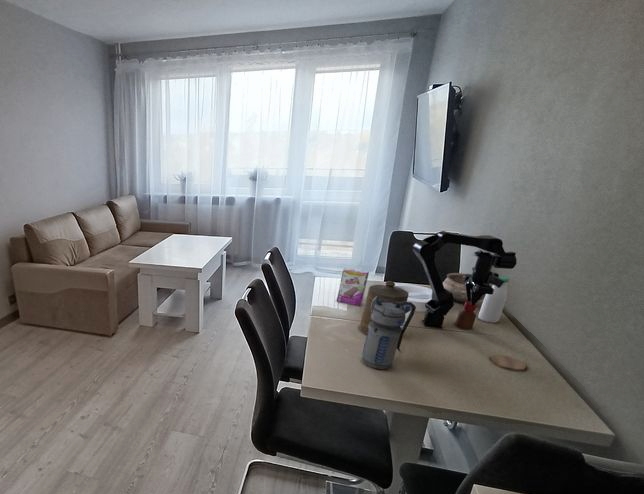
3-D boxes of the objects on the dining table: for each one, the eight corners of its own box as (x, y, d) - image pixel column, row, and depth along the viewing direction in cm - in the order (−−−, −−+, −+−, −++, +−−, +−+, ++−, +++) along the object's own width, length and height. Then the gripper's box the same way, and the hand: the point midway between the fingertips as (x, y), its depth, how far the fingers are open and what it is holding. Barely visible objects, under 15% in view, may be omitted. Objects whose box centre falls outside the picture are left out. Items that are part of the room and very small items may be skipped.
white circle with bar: (440, 298, 211) (443, 289, 209) (441, 316, 189) (444, 306, 187) (381, 288, 224) (383, 279, 222) (375, 303, 202) (377, 294, 200)
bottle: (457, 328, 177) (464, 305, 173) (453, 322, 183) (460, 300, 178) (474, 330, 175) (482, 307, 171) (469, 324, 181) (477, 302, 177)
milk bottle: (501, 324, 183) (517, 281, 174) (482, 322, 184) (497, 279, 176) (493, 317, 189) (508, 275, 181) (474, 315, 191) (488, 274, 183)
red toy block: (464, 310, 175) (467, 304, 173) (462, 307, 178) (464, 300, 177) (475, 312, 173) (478, 305, 172) (472, 308, 177) (475, 302, 176)
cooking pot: (438, 290, 222) (445, 268, 217) (480, 297, 213) (488, 275, 208) (437, 305, 202) (445, 281, 197) (484, 313, 193) (492, 289, 188)
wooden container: (402, 331, 173) (416, 281, 164) (391, 342, 163) (404, 290, 154) (367, 321, 182) (377, 273, 173) (353, 331, 172) (364, 281, 163)
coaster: (496, 367, 146) (497, 366, 146) (487, 355, 155) (487, 353, 155) (530, 373, 144) (531, 371, 143) (518, 359, 152) (519, 357, 152)
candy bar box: (336, 301, 203) (342, 269, 196) (338, 298, 207) (344, 267, 200) (360, 306, 198) (367, 274, 191) (362, 303, 201) (369, 271, 195)
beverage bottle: (401, 374, 141) (420, 306, 131) (359, 367, 145) (374, 300, 134) (397, 360, 149) (414, 296, 139) (358, 354, 153) (372, 291, 143)
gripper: (515, 276, 158) (501, 313, 164) (497, 263, 174) (485, 298, 180) (481, 272, 161) (469, 309, 167) (467, 260, 177) (456, 294, 184)
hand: (471, 302), depth 174 cm, fingers open, 5 cm apart
